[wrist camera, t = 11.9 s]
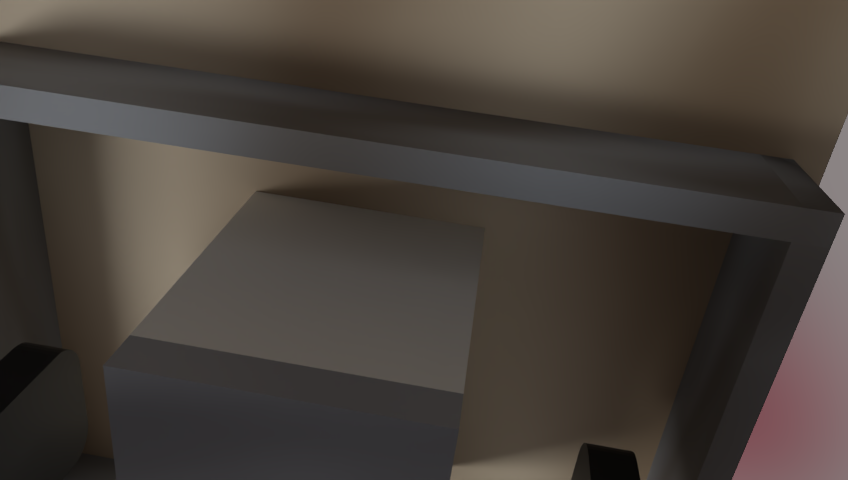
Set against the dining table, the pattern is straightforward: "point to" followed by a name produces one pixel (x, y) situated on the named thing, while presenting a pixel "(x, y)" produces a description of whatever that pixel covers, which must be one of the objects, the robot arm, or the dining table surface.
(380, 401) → the grey rectangular block
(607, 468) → the robot arm
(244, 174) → the cable board
